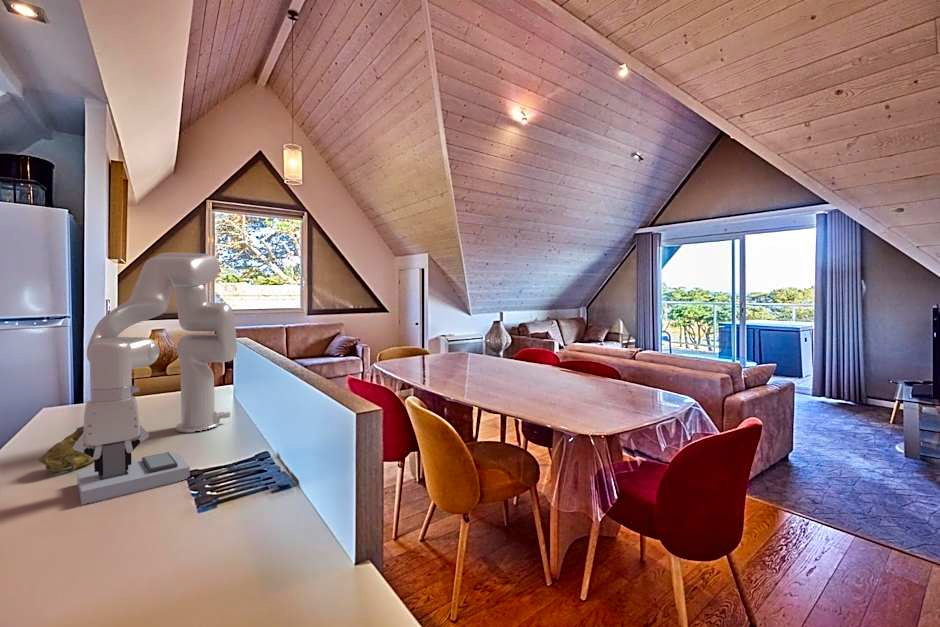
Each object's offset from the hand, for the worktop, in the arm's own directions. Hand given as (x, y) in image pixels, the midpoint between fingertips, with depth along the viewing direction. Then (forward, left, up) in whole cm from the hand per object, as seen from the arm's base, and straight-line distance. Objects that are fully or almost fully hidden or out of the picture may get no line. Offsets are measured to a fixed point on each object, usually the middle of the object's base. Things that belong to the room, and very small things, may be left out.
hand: (113, 470), depth 104 cm
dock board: (-4, 0, -4) cm, 6 cm away
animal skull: (+5, -21, -4) cm, 22 cm away
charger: (0, 0, -2) cm, 2 cm away
